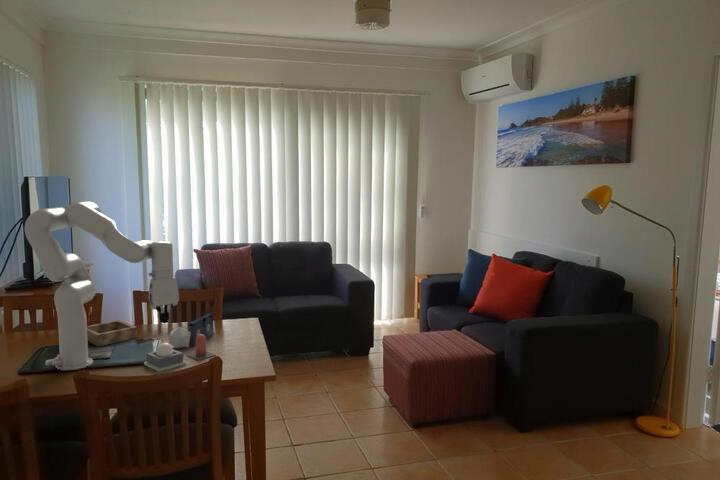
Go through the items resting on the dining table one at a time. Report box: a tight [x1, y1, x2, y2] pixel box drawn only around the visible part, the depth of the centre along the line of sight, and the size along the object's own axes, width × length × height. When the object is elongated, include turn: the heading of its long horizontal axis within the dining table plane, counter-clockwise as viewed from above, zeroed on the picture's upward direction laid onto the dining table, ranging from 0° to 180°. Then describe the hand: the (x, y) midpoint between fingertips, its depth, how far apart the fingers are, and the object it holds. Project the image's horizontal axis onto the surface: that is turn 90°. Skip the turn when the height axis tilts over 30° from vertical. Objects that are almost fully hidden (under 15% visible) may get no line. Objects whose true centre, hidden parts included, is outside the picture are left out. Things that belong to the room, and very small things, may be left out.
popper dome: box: [155, 342, 173, 357], centre depth 208 cm, size 6×6×6 cm
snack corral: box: [87, 319, 138, 347], centre depth 241 cm, size 17×17×5 cm
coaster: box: [186, 350, 216, 361], centre depth 219 cm, size 8×8×1 cm
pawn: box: [195, 334, 207, 356], centre depth 219 cm, size 4×4×8 cm
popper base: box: [143, 348, 187, 373], centre depth 209 cm, size 11×11×4 cm
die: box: [168, 326, 191, 349], centre depth 229 cm, size 8×9×10 cm
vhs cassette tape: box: [187, 312, 215, 347], centre depth 240 cm, size 18×3×10 cm, turn 167°
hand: (164, 322), depth 207 cm, fingers closed
